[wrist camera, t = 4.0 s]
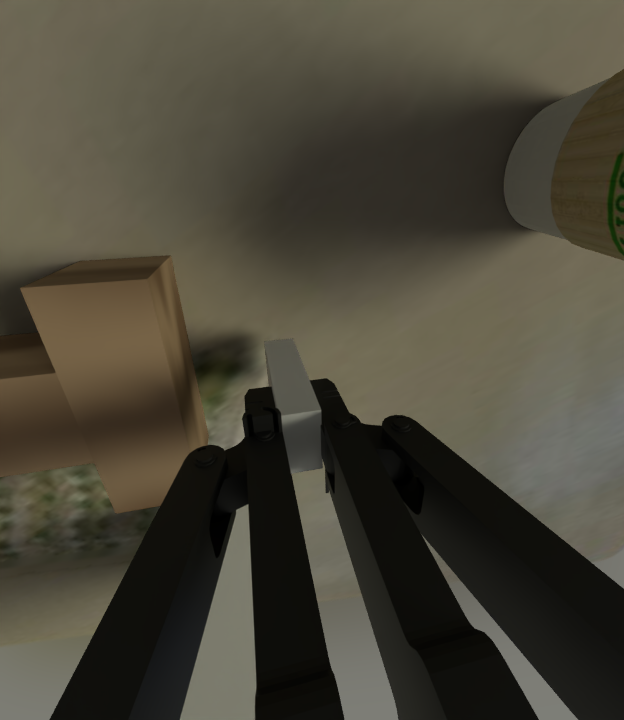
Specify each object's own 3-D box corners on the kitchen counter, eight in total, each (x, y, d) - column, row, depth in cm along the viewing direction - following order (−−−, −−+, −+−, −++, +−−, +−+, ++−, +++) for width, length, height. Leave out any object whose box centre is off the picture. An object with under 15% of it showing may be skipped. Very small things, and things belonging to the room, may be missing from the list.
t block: (-126, 273, 14) (-286, 309, 10) (170, 255, 16) (147, 279, 12) (-8, 467, 19) (-79, 548, 15) (208, 435, 21) (201, 498, 17)
